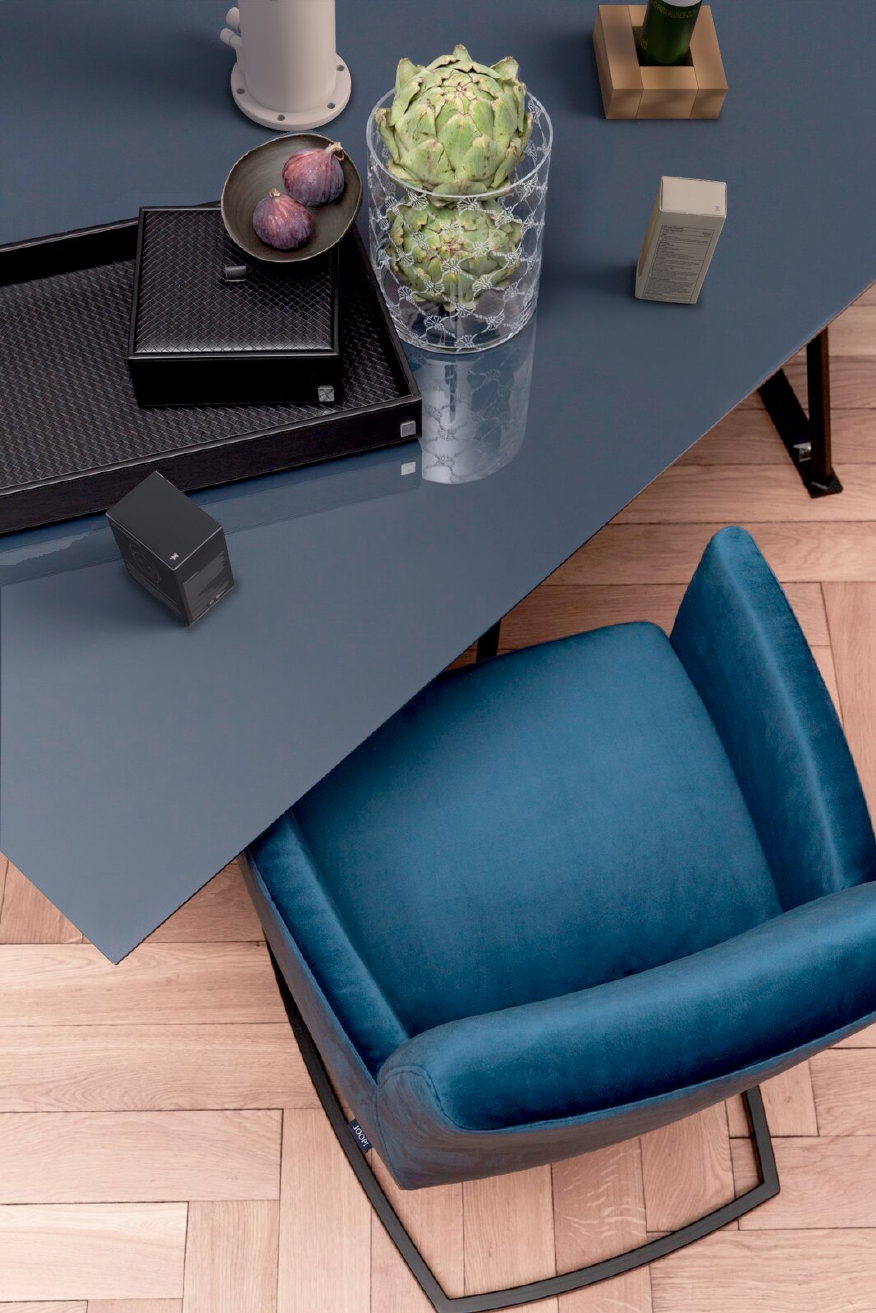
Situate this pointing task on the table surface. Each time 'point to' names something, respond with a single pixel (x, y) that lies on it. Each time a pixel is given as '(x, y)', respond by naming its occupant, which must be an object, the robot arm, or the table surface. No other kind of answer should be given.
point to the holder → (656, 70)
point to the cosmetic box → (680, 239)
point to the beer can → (667, 32)
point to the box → (172, 547)
